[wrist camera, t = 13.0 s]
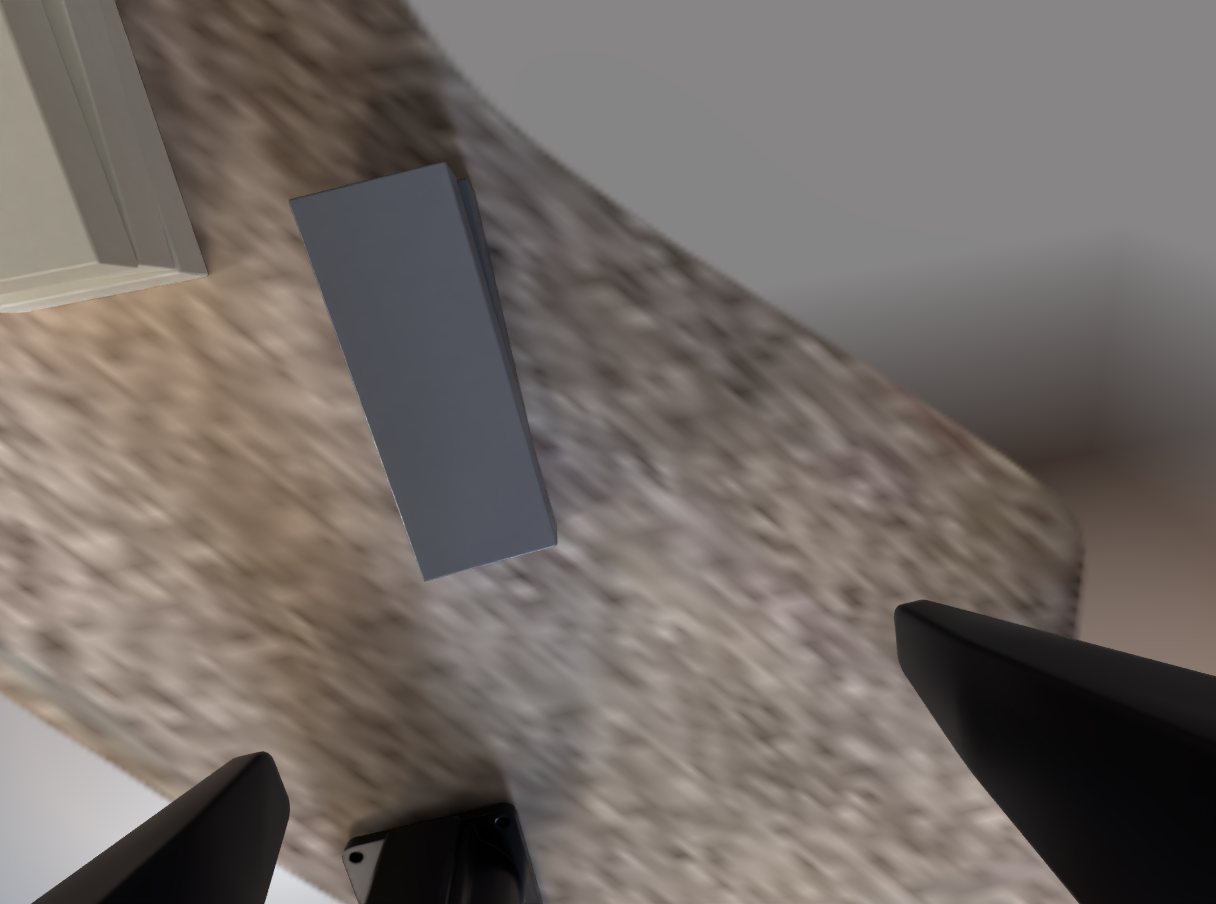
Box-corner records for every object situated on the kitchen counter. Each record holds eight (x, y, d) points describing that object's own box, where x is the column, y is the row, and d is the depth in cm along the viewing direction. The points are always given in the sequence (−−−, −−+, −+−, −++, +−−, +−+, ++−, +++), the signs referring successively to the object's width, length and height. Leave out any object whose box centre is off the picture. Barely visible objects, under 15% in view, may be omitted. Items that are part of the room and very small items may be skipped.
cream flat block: (227, 273, 18) (168, 265, 15) (19, 313, 17) (-80, 312, 15) (103, -96, 15) (7, -185, 13) (-137, -57, 15) (-287, -139, 12)
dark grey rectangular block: (560, 525, 20) (561, 562, 17) (430, 553, 20) (407, 596, 17) (482, 184, 18) (467, 156, 15) (331, 213, 18) (284, 190, 14)
